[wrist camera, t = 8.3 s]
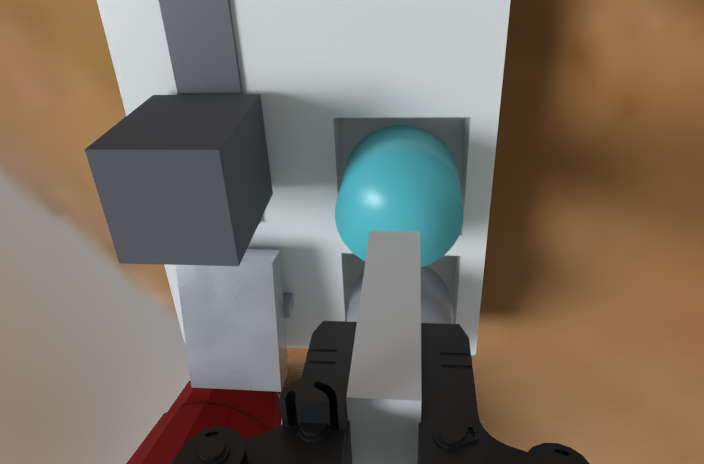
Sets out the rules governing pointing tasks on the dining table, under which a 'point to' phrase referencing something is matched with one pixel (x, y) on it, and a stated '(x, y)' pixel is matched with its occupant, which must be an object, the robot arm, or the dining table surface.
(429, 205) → the teal button
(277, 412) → the plastic cup
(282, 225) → the panel
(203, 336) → the white block with nub
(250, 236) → the slider knob
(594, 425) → the dining table surface
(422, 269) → the grey button
